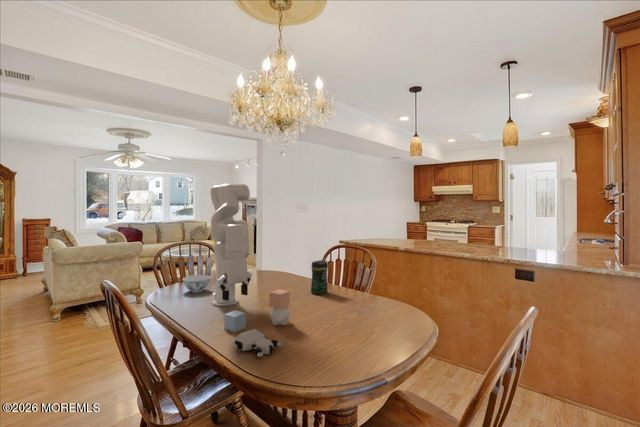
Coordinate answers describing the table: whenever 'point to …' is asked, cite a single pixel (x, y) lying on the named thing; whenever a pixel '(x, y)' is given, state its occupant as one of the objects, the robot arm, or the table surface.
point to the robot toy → (255, 342)
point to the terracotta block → (279, 299)
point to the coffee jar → (319, 277)
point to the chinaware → (196, 282)
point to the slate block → (234, 320)
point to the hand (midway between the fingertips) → (235, 297)
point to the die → (280, 316)
